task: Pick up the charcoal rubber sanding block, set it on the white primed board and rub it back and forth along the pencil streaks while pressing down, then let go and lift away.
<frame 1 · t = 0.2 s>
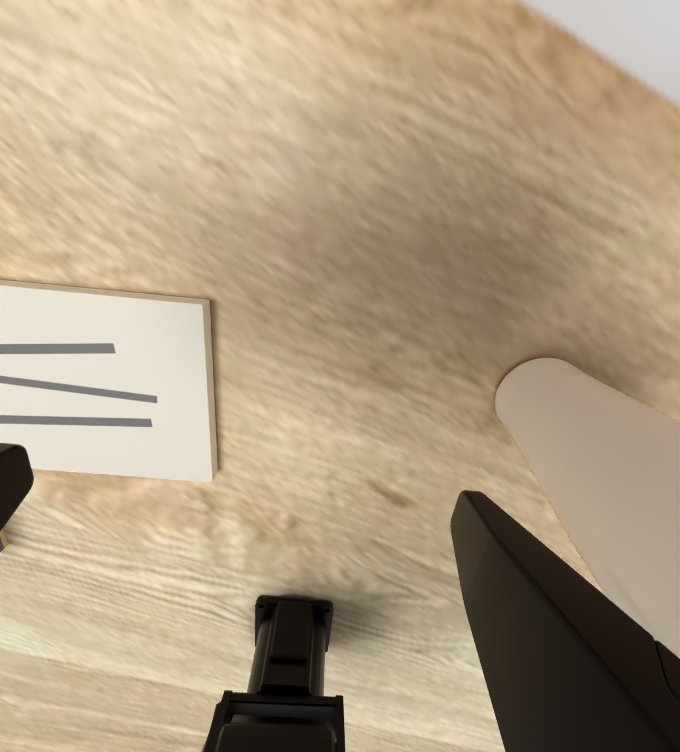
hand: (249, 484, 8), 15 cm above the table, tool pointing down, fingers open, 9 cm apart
drinking glass: (532, 392, 23), on the table
board: (51, 380, 23), on the table
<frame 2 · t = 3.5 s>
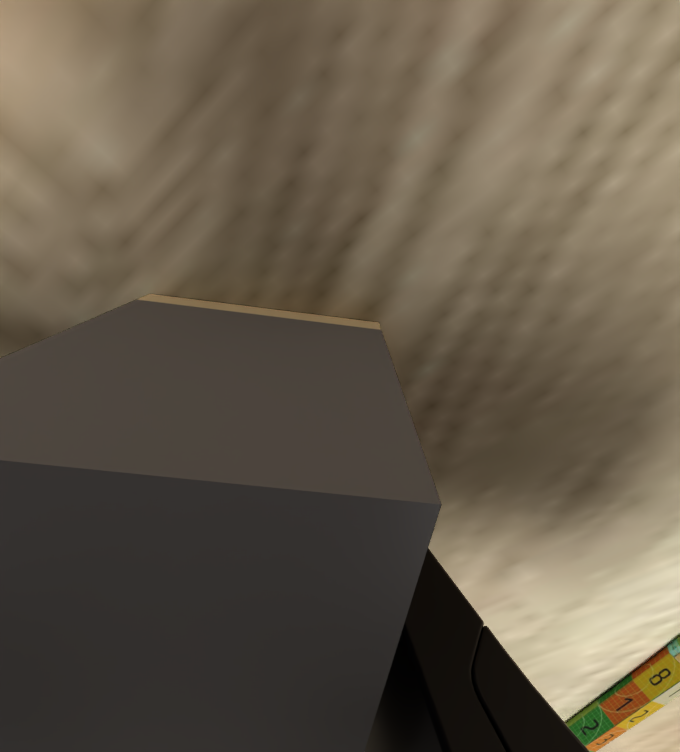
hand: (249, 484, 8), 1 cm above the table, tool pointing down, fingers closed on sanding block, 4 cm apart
sanding block: (259, 454, 9), on the table, touching gripper
pencil: (546, 724, 15), on the table
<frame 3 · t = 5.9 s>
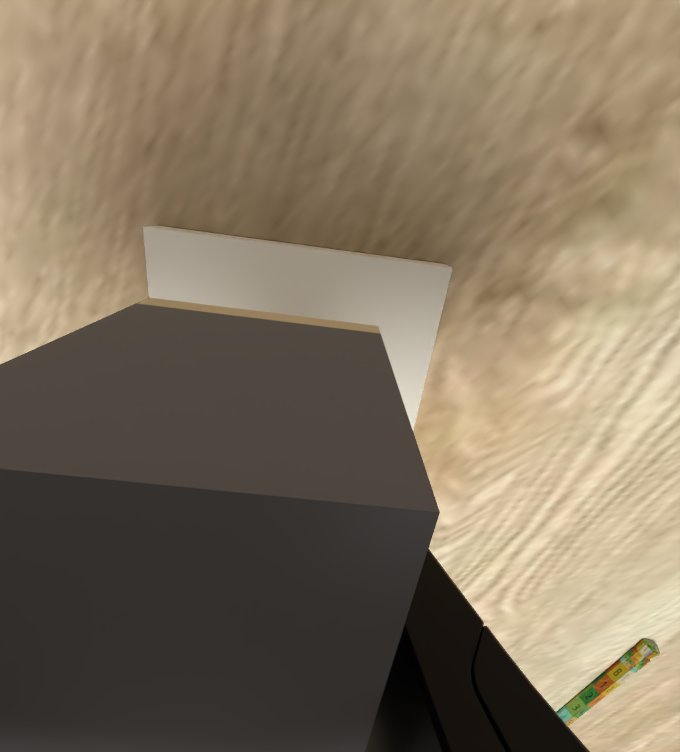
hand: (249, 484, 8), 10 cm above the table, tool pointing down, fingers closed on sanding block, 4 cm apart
sanding block: (259, 456, 9), point 9 cm above the table, touching gripper
pencil: (568, 696, 30), on the table
board: (287, 444, 19), on the table
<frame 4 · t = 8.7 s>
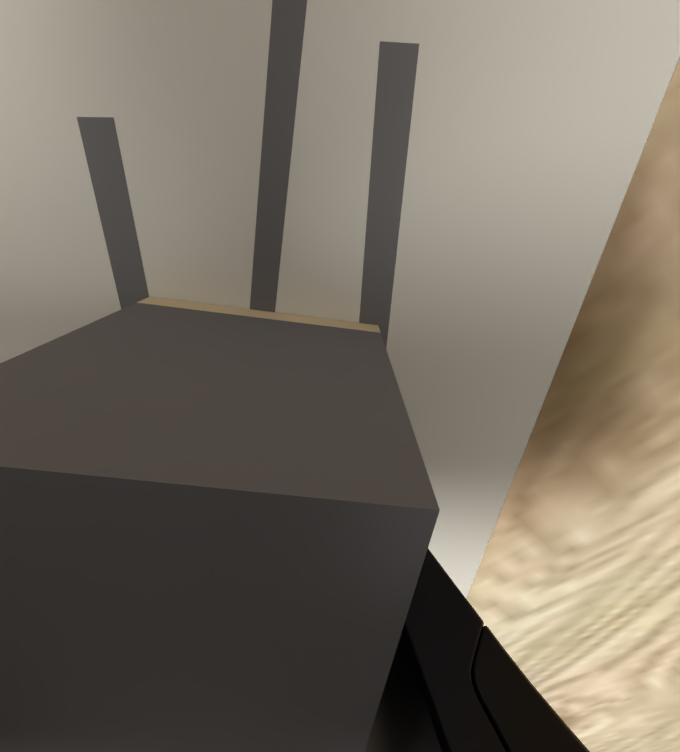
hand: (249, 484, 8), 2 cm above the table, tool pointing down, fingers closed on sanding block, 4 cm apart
sanding block: (259, 456, 9), point 1 cm above the table, touching gripper
board: (277, 381, 9), on the table
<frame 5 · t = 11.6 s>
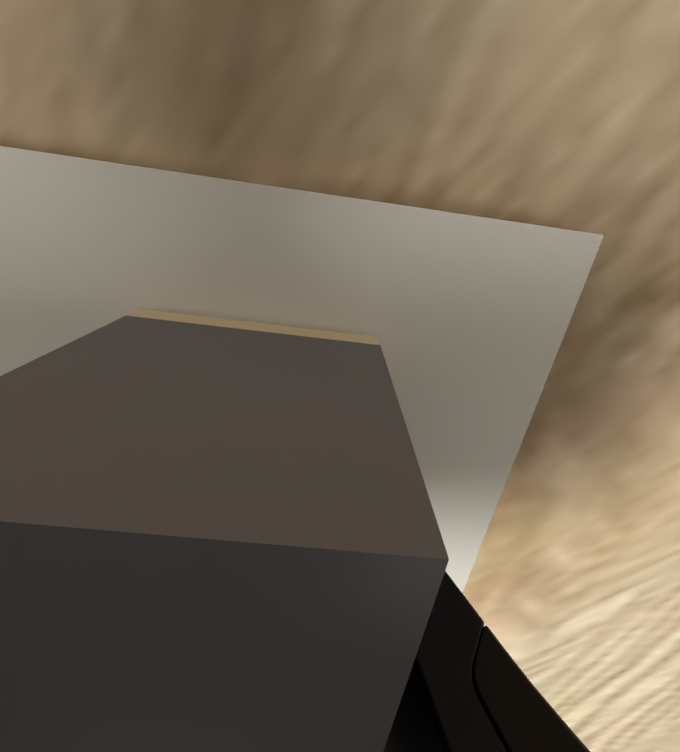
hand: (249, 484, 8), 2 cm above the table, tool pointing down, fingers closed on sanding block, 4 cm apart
sanding block: (255, 470, 8), point 1 cm above the table, touching gripper
board: (255, 551, 11), on the table
when the fingers open (2 cm above the table, at t = 14.1 s): sanding block stays where it is, resting on board.
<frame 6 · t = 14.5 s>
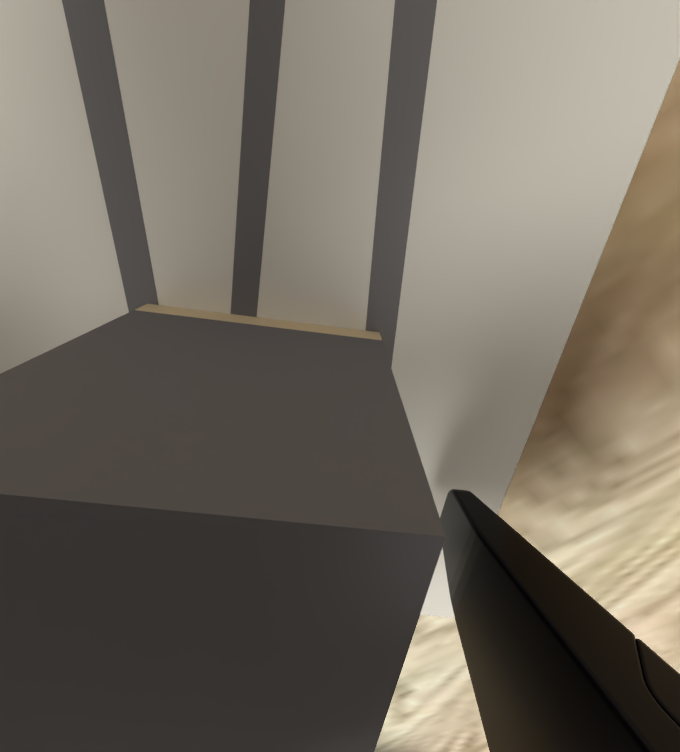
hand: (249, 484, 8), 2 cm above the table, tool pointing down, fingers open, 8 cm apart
sanding block: (258, 463, 9), point 1 cm above the table, touching board
board: (279, 225, 8), on the table
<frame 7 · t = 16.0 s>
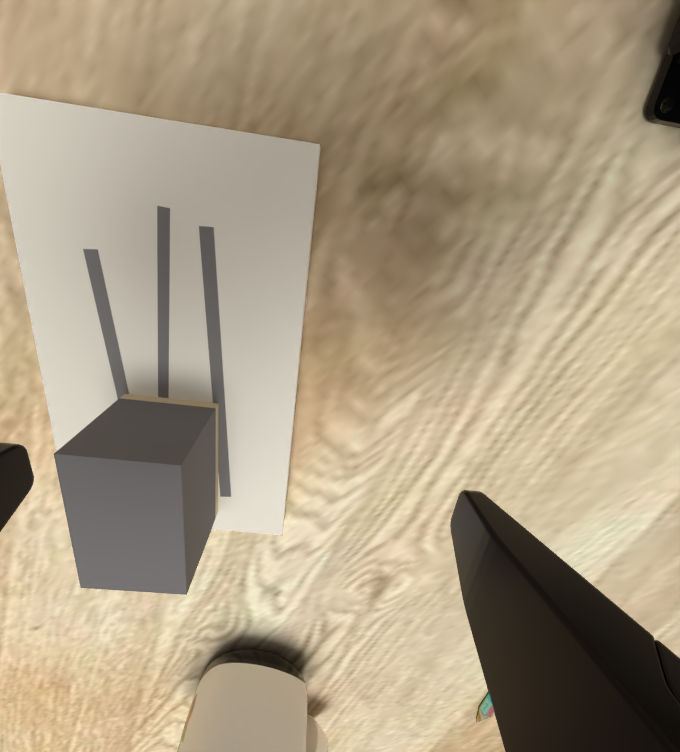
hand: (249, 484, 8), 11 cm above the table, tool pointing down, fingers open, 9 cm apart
sanding block: (174, 457, 19), point 1 cm above the table, touching board
pencil: (514, 650, 30), on the table
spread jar: (268, 685, 30), on the table
board: (179, 358, 19), on the table
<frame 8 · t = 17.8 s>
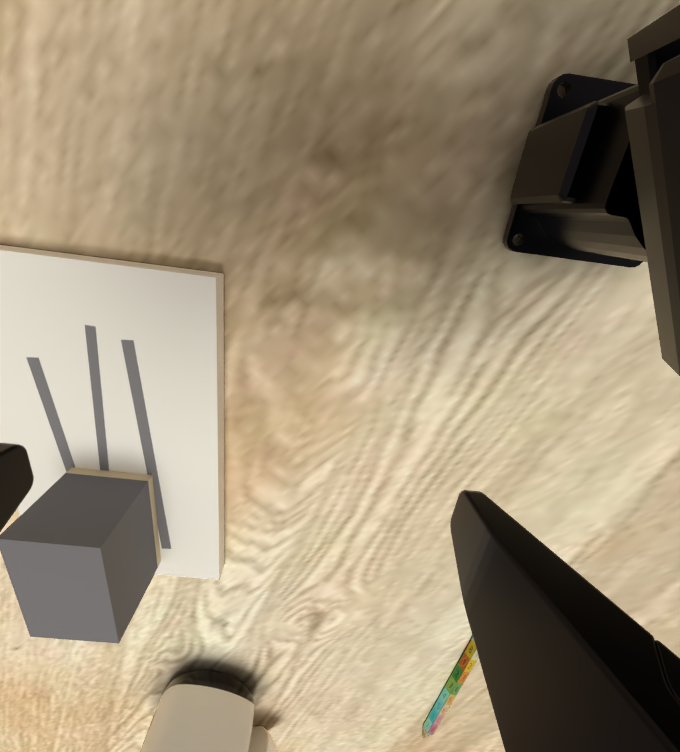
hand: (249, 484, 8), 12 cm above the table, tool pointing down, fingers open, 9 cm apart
sanding block: (119, 517, 22), point 1 cm above the table, touching board
pencil: (450, 676, 32), on the table
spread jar: (225, 700, 33), on the table
board: (120, 435, 21), on the table
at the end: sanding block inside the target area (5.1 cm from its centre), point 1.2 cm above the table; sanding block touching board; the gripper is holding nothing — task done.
